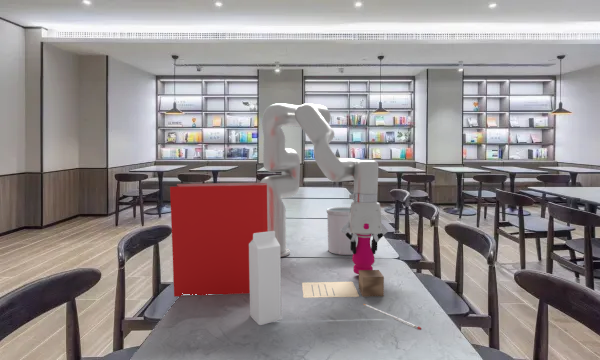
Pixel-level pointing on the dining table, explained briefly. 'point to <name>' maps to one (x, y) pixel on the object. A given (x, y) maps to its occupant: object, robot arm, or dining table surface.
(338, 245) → the utensil holder
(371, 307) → the pencil
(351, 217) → the robot arm
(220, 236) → the book
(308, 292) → the letter
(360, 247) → the pepper mill
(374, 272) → the block
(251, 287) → the milk
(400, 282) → the dining table surface
